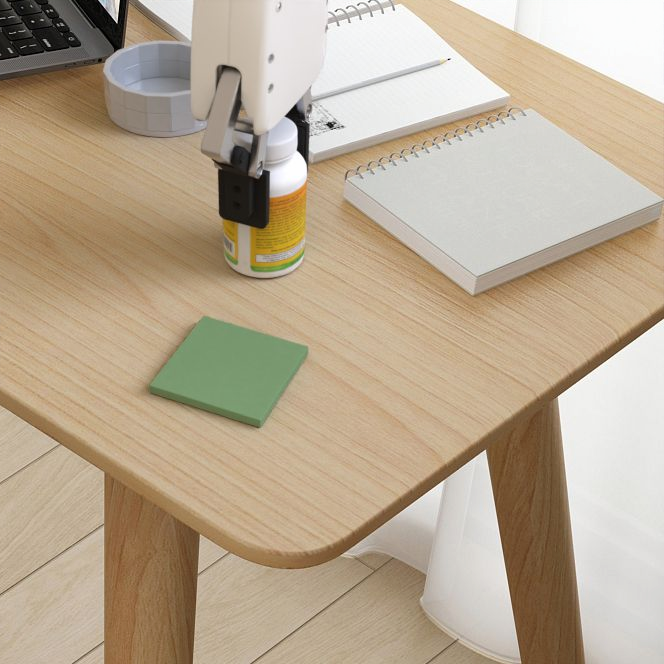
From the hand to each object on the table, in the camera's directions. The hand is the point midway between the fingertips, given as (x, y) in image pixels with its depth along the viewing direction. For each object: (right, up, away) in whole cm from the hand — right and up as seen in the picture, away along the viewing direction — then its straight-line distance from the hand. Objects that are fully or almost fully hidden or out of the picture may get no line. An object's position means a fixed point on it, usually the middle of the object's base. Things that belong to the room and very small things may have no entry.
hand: (264, 194), depth 76 cm
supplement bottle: (0, -4, +3) cm, 5 cm away
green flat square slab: (-2, -11, -6) cm, 13 cm away
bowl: (-9, +9, +18) cm, 21 cm away
